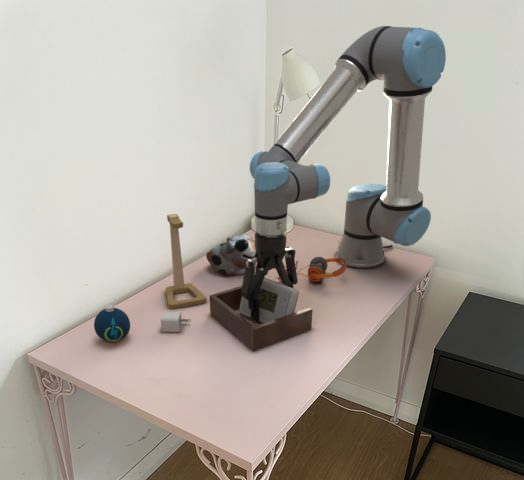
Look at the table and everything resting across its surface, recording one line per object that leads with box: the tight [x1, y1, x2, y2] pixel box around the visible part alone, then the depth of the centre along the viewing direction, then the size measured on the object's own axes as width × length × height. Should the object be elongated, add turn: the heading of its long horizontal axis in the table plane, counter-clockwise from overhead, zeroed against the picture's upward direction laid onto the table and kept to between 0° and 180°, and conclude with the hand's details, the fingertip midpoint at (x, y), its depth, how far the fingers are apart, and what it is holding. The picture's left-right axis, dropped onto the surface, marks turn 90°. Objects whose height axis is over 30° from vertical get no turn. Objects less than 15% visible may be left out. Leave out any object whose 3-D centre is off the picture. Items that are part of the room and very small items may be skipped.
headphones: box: [278, 256, 348, 283], centre depth 160 cm, size 17×5×20 cm
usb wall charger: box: [160, 311, 192, 333], centre depth 135 cm, size 4×7×4 cm, turn 88°
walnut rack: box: [208, 285, 314, 352], centre depth 138 cm, size 18×20×6 cm
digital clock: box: [238, 277, 300, 324], centre depth 138 cm, size 16×9×11 cm, turn 42°
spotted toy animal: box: [205, 234, 256, 277], centre depth 162 cm, size 15×12×14 cm
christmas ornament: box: [93, 304, 131, 343], centre depth 129 cm, size 8×8×10 cm
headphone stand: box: [165, 213, 207, 310], centre depth 144 cm, size 10×11×22 cm
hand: (269, 314), depth 140 cm, fingers closed on digital clock, 8 cm apart
